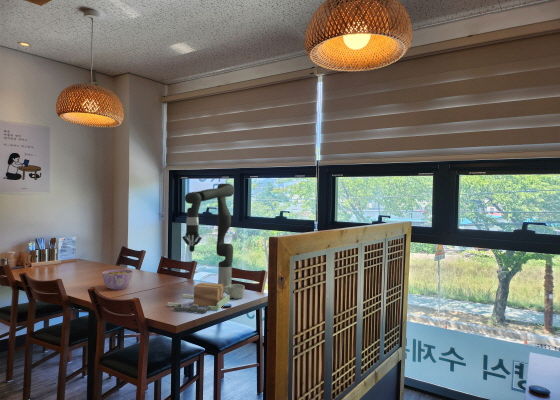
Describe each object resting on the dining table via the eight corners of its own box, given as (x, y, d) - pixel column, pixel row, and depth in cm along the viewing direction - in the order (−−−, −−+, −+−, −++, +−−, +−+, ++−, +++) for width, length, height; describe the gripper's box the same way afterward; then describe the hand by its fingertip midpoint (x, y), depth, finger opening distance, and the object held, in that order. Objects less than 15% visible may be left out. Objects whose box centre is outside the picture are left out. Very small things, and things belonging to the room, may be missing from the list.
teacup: (244, 295, 258) (245, 284, 258) (243, 300, 247) (244, 287, 247) (224, 295, 258) (224, 283, 258) (222, 299, 247) (222, 287, 247)
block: (200, 301, 242) (200, 282, 242) (222, 303, 239) (223, 284, 239) (193, 305, 232) (194, 286, 232) (217, 307, 229) (217, 287, 229)
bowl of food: (121, 293, 257) (121, 275, 257) (95, 290, 261) (95, 273, 261) (138, 286, 277) (138, 270, 276) (113, 284, 281) (113, 268, 280)
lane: (182, 297, 250) (182, 291, 250) (229, 301, 244) (229, 294, 244) (161, 309, 222) (161, 302, 222) (213, 314, 216) (213, 307, 216)
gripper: (204, 224, 245) (204, 251, 245) (185, 223, 248) (184, 250, 248) (200, 225, 238) (199, 253, 238) (180, 224, 240) (179, 251, 241)
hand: (191, 251), depth 243 cm, fingers closed
